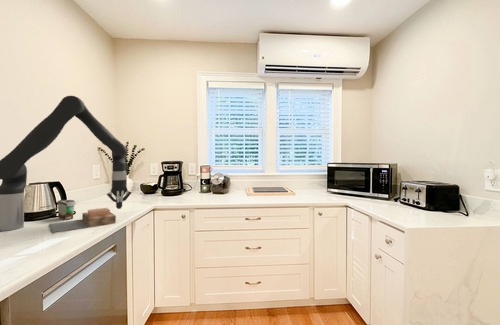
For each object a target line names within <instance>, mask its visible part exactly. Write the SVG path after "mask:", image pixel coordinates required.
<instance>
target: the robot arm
mask: <svg viewBox="0 0 500 325" xmlns="http://www.w3.org/2000/svg"><path fill="white" fill-rule="evenodd" d="M74 117H75V118H77V119H78V120H80V122H82V123H83V125H85V127H86V128H87V129H89V131H90V132H91V134H93V135H94V137H95V138H96V139H97V140H98V141H99V142H100V143H101V144H102V145H103V146H106V147H107V148H108V149H109V150H110V151H111V160H112V171H111V172H112V173H111V189H110V191H109V192H108V193H106V196H107V197H108V198H109V199H110V200H111V201H112V202H114V203H115V207H116V208H117V210H121V209H122V208H123V202H125V201H127V199H128V198H129V197H130V195H132V192H131V191H130V190H128V188H127V185H128V184H127V183H128V182H127V180H128V179H127V178H128V174H127V163H126V155H127V153H128V149H127V148H128V147H126V146H125V144H123V142H121V141H120V140H118V139H117V138H116V137H115V136H114V134H113V133H112V132H110V131H109V129H107V127H105V126H104V125H103V124H102V123H101V122H100V121H99V120H98V119H97V118H96V117H95V116H94V115H93V113H91V111H89V109H88V107H87V106H86V104H85V103H84V101H83V100H82V99H81V98H79V97H78V96H75V95H67V96H64V97H63V98H62V99H61V100H60V101H59V102H58V104H57V106H56V107H55V108H54V109H53V111H52V112H51V113H50V114H48V115H47V117H45V118H44V119H43V120H41V121H40V122H39V123H38V124H37V125H36V126H34V128H33V129H32V130H31V131H30V132H29V133H27V135H26V136H25V137H24V138H23V139H22V140H21V141H20V142H19V143H18V144H17V145H16V146H15V147H14V148H13V149H12V150H11V151H10V152H9V153H8V154H6V155H5V156H4V157H2V158H1V159H0V180H2V181H1V184H0V232H1V231H2V232H6V231H13V230H18V229H21V228H24V225H25V189H26V187H27V179H28V178H27V177H28V169H27V166H26V163H27V162H28V161H29V160H30V159H31V158H33V157H35V156H36V155H38V154H39V153H41V152H42V151H44V150H46V149H47V148H48V147H49V146H50V145H51V144H52V143H53V142H54V141H55V140H56V139H57V138H58V136H59V135H60V134H61V132H62V130H63V129H64V127H65V126H66V124H67V123H68V122H69V121H71V120H72V119H73V118H74ZM113 196H114V197H113Z"/></svg>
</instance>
